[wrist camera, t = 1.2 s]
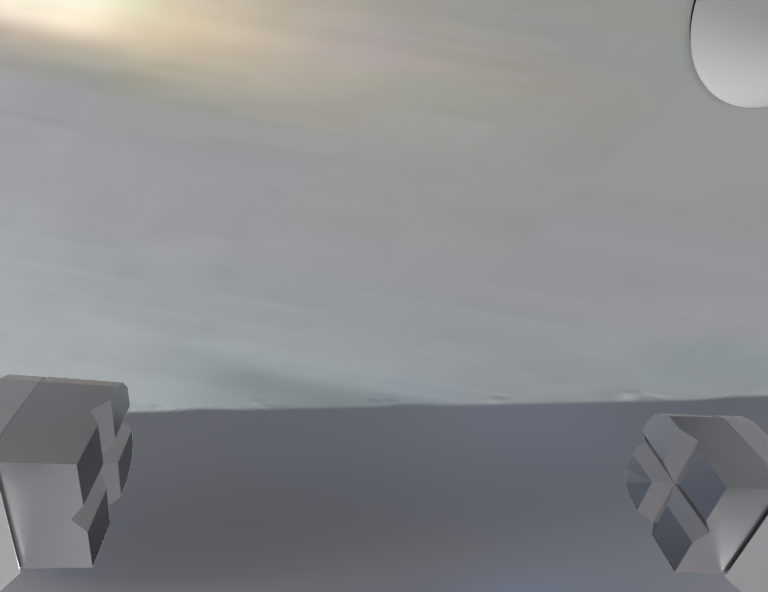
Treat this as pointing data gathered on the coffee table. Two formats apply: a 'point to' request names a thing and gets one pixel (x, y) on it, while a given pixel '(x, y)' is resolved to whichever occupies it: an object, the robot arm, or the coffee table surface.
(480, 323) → the coffee table surface
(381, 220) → the coffee table surface
